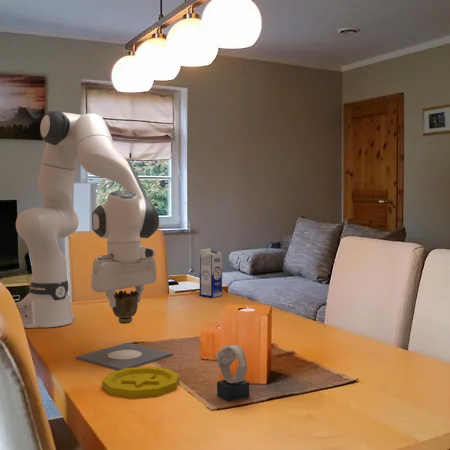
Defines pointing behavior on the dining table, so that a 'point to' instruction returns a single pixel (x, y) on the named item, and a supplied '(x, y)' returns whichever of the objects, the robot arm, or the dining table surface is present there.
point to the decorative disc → (140, 382)
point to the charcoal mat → (124, 356)
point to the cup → (125, 306)
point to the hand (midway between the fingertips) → (125, 304)
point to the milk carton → (210, 273)
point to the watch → (231, 385)
